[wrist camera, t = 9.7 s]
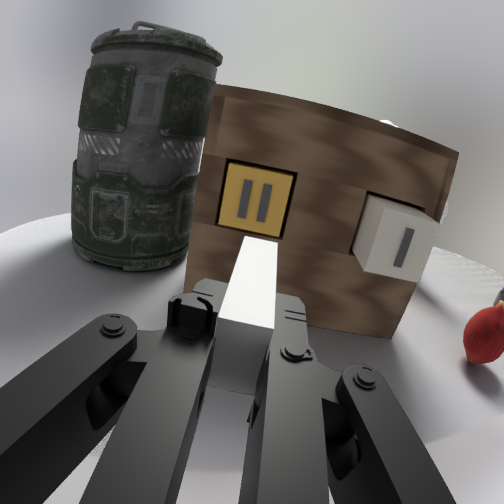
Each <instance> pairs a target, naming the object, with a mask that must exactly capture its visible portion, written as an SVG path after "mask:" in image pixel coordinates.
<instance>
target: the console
mask: <svg viewBox="0 0 504 504" xmlns="http://www.w3.org/2000/svg"><path fill="white" fill-rule="evenodd" d="M458 155H459V152H457V151H454V150H452V149H450V148H448V147H445V146H443V145H441V144H439V143H436V142H434V141H432V140H429V139H426V138H424V137H422V136H419V135H416V134H414V133H411V132H409V131H406V130H403V129H400V128H398V127H395V126H392V125H389V124H386V123H383V122H381V121H378V120H374V119H371V118H368V117H365V116H362V115H358V114H355V113H352V112H349V111H345V110H341V109H338V108H334V107H331V106H327V105H323V104H319V103H315V102H311V101H307V100H302V99H298V98H294V97H289V96H285V95H280V94H275V93H269V92H265V91H259V90H253V89H247V88H241V87H234V86H228V85H221V84H216V85H215V89H214V94H213V99H212V104H211V109H210V115H209V120H208V125H207V131H206V136H205V142H204V148H203V153H202V159H201V165H200V172H199V178H198V184H197V190H196V197H195V204H194V211H193V218H192V225H191V233H190V241H189V249H188V257H187V265H186V274H185V283H184V293H191V292H192V290H193V289H194V287H195V285H196V283H198V282H199V281H201V280H203V279H204V278H207V279H211V280H216V281H220V282H225V283H229V282H230V279H231V276H232V273H233V270H234V267H235V264H236V261H237V258H238V255H239V252H240V249H241V246H242V243H243V240H244V237H245V236H248V237H253V238H257V239H262V240H267V241H271V242H276V243H278V246H277V273H276V293H281V294H286V295H290V296H295V297H299V299H300V300H301V301H302V303H303V304H304V305H305V313H306V314H305V315H306V323H307V325H309V326H314V327H320V328H326V329H331V330H337V331H344V332H350V333H356V334H363V335H369V336H376V337H383V338H390V339H392V337H393V335H394V333H395V331H396V329H397V326H398V324H399V322H400V320H401V318H402V316H403V314H404V312H405V309H406V307H407V305H408V303H409V301H410V298H411V296H412V294H413V291H414V289H415V287H416V284H417V283H416V282H412V281H407V280H403V279H398V278H393V277H389V276H384V275H380V274H375V273H370V272H366V271H364V270H363V269H362V267H361V265H360V263H359V261H358V260H357V258H356V256H355V254H354V252H353V251H352V249H351V246H352V243H353V240H354V236H355V233H356V230H357V227H358V223H359V220H360V216H361V213H362V210H363V206H364V202H365V199H366V195H367V194H370V195H374V196H377V197H381V198H384V199H388V200H391V201H394V202H398V203H401V204H404V205H407V206H411V207H414V208H417V209H418V210H420V211H421V212H423V213H424V214H426V215H427V216H429V217H430V218H432V219H433V220H435V221H436V222H438V223H440V220H441V217H442V214H443V210H444V207H445V204H446V201H447V197H448V194H449V190H450V187H451V183H452V179H453V176H454V172H455V168H456V163H457V160H458ZM234 160H241V161H246V162H251V163H256V164H261V165H266V166H271V167H275V168H280V169H285V170H289V171H291V173H292V176H293V178H292V183H291V187H290V191H289V196H288V200H287V204H286V209H285V213H284V217H283V221H282V226H281V230H280V234H279V237H277V236H272V235H268V234H263V233H258V232H254V231H249V230H244V229H240V228H235V227H230V226H225V225H220V224H219V218H220V212H221V206H222V200H223V195H224V189H225V183H226V178H227V172H228V167H229V164H230V163H231V162H233V161H234ZM184 293H183V294H184Z"/></svg>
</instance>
